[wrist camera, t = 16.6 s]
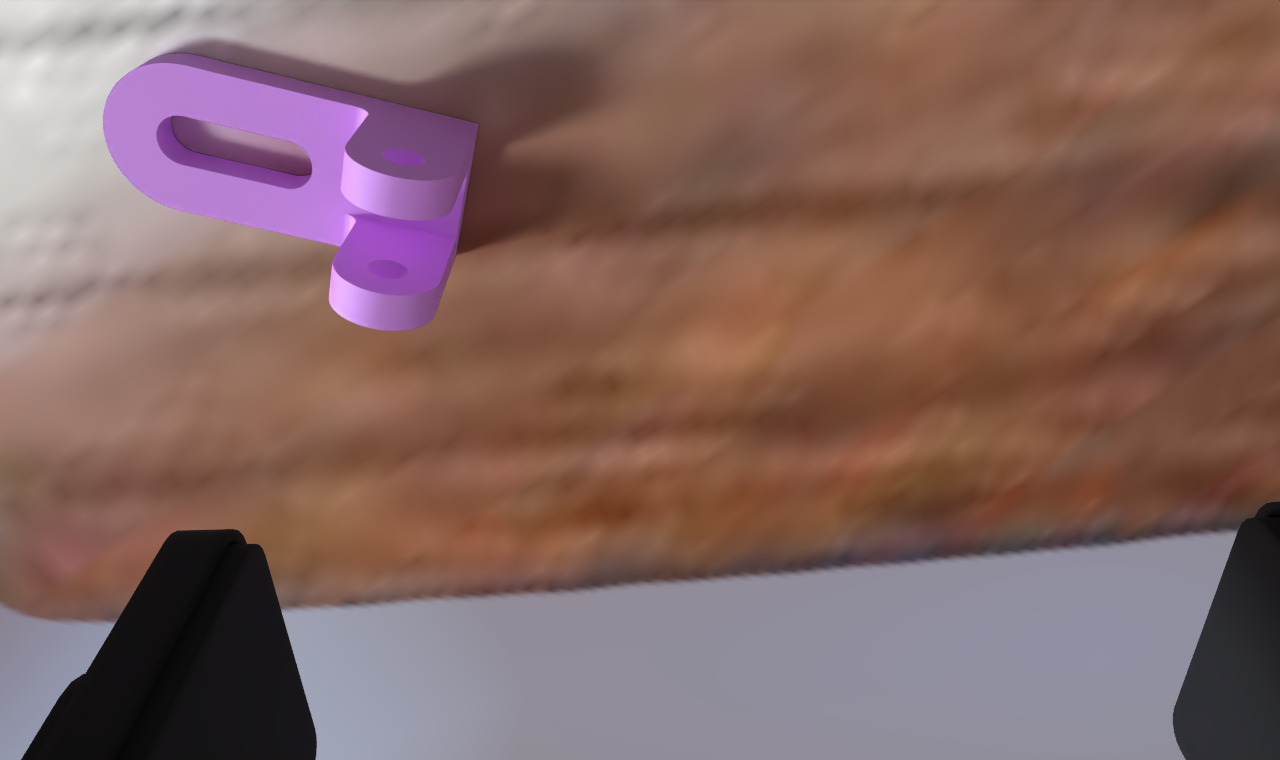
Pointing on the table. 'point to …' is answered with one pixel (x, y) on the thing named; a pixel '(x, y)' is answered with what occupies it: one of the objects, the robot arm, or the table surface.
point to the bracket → (317, 203)
